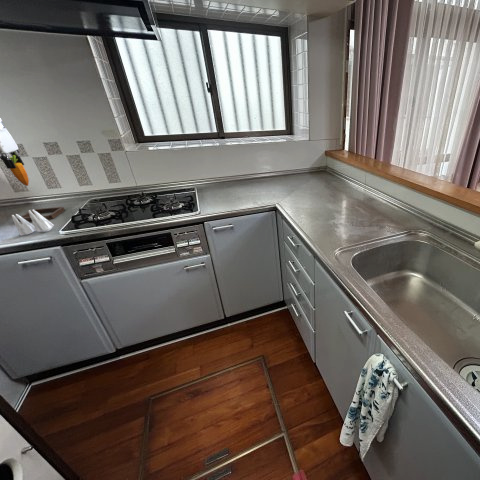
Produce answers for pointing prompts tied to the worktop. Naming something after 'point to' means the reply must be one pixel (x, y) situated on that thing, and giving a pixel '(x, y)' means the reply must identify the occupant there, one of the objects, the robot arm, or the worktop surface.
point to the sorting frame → (55, 211)
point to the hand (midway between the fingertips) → (16, 166)
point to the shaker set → (38, 221)
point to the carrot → (19, 171)
